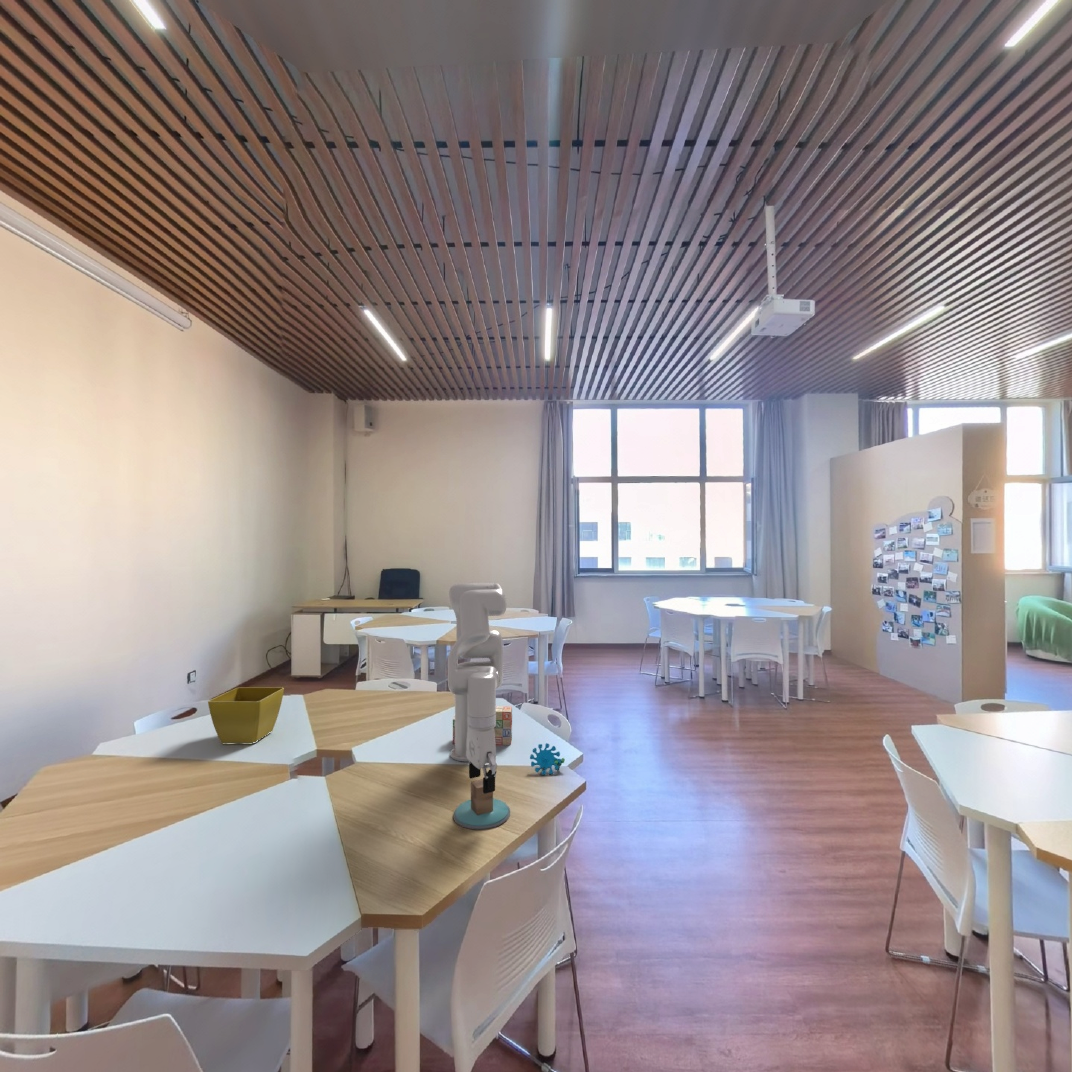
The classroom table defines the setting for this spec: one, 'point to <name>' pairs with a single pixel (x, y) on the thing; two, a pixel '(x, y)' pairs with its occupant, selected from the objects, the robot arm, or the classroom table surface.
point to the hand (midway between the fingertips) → (481, 784)
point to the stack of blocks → (499, 726)
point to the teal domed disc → (481, 816)
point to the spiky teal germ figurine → (546, 759)
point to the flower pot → (245, 713)
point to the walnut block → (480, 798)
